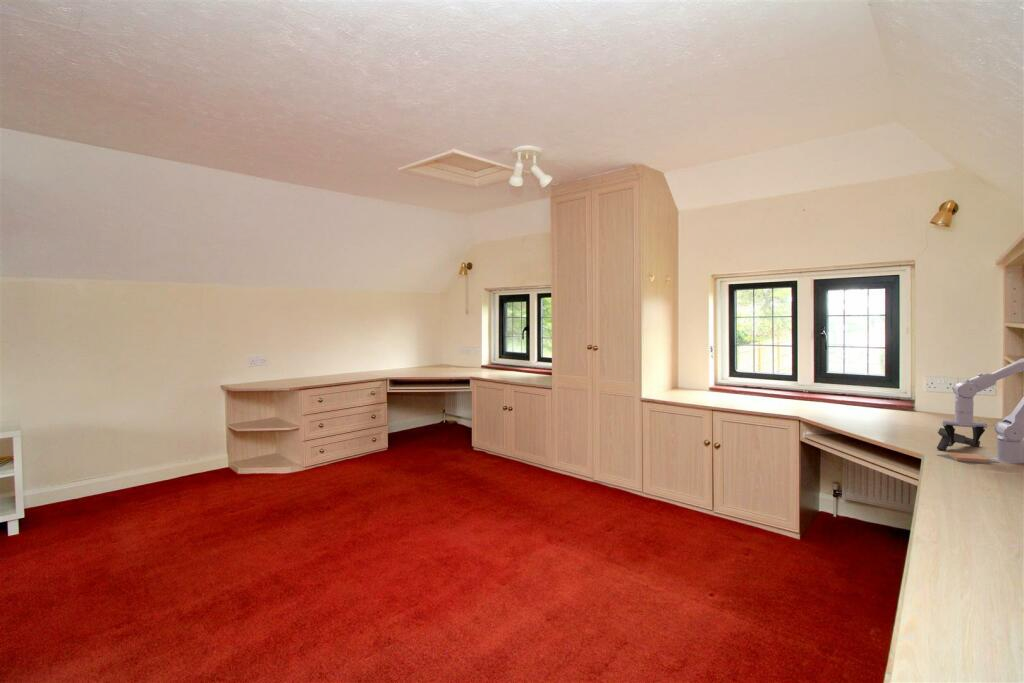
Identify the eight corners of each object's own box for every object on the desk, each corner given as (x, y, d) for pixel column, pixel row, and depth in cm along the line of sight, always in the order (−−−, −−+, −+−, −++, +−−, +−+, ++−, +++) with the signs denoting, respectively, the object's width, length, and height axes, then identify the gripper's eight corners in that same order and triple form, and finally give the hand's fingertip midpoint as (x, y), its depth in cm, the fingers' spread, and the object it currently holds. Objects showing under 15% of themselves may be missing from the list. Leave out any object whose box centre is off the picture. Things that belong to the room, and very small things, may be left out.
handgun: (933, 449, 224) (938, 427, 224) (968, 458, 231) (973, 437, 232) (943, 451, 220) (948, 429, 221) (978, 461, 228) (983, 439, 228)
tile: (948, 452, 213) (956, 457, 206) (978, 454, 209) (988, 459, 202) (948, 455, 213) (956, 460, 206) (978, 458, 210) (988, 463, 202)
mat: (964, 454, 217) (964, 453, 217) (999, 463, 203) (999, 462, 203) (935, 456, 215) (935, 454, 215) (969, 465, 201) (969, 464, 201)
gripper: (982, 410, 212) (981, 443, 212) (938, 409, 218) (938, 440, 218) (990, 413, 205) (989, 447, 206) (945, 411, 211) (944, 444, 212)
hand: (963, 443), depth 212 cm, fingers open, 7 cm apart
